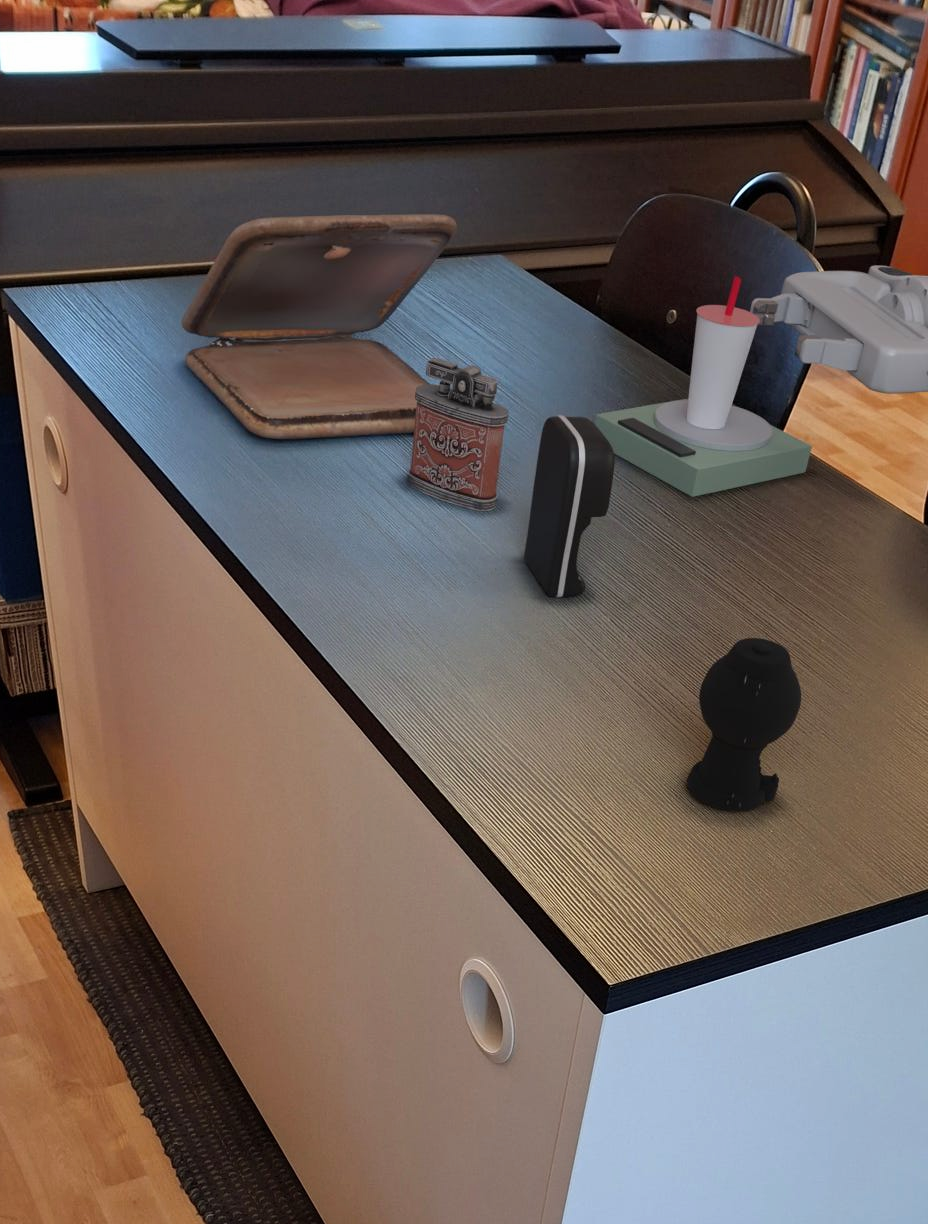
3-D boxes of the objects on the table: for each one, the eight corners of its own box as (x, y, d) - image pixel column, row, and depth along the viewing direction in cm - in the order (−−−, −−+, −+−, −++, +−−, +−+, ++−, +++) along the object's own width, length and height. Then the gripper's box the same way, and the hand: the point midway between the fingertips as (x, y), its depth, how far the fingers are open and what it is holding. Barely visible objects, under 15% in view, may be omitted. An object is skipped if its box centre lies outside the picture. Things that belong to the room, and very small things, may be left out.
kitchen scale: (704, 420, 148) (711, 387, 146) (805, 472, 140) (814, 438, 138) (591, 441, 140) (597, 407, 139) (691, 497, 133) (699, 462, 131)
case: (379, 351, 152) (393, 165, 142) (475, 433, 139) (498, 235, 128) (174, 360, 145) (172, 164, 134) (254, 449, 131) (259, 238, 120)
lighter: (504, 503, 128) (521, 376, 122) (482, 515, 126) (499, 386, 119) (421, 473, 131) (433, 347, 124) (398, 484, 129) (409, 357, 122)
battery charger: (597, 600, 116) (626, 445, 109) (548, 601, 115) (573, 445, 108) (568, 558, 121) (593, 407, 114) (521, 559, 120) (543, 406, 113)
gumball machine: (772, 835, 95) (815, 684, 88) (673, 816, 95) (709, 665, 89) (773, 777, 100) (814, 631, 93) (680, 760, 100) (714, 614, 94)
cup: (727, 412, 141) (759, 268, 133) (742, 435, 137) (776, 288, 129) (669, 409, 140) (697, 263, 132) (682, 432, 136) (713, 283, 128)
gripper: (967, 414, 133) (819, 413, 129) (858, 332, 147) (721, 328, 143) (992, 336, 129) (839, 332, 125) (877, 259, 143) (737, 253, 139)
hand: (775, 329), depth 134 cm, fingers open, 8 cm apart
